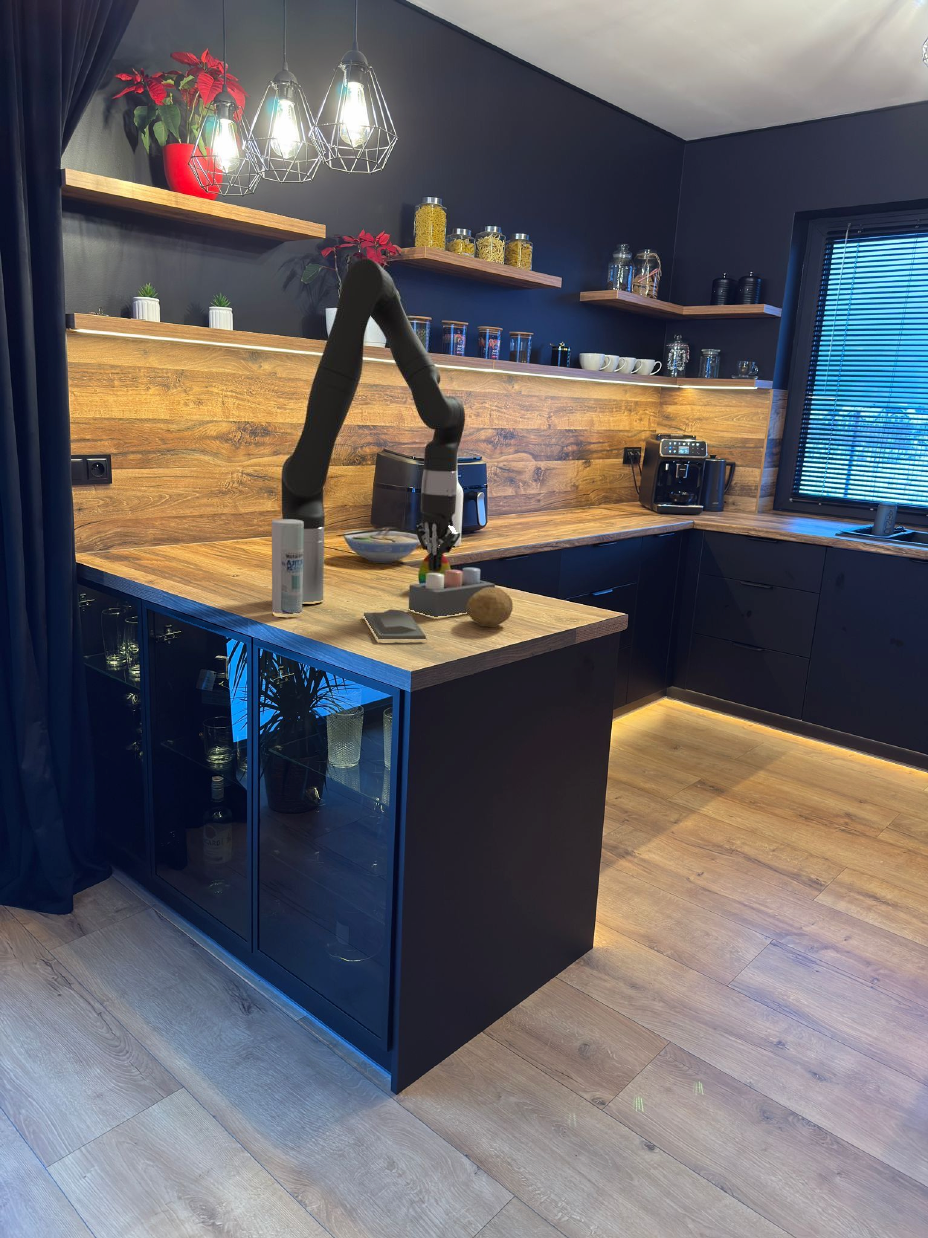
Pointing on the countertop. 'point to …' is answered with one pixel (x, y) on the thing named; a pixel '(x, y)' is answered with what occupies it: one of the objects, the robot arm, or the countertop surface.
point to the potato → (490, 606)
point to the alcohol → (458, 511)
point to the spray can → (287, 565)
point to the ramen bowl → (381, 544)
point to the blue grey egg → (471, 576)
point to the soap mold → (394, 625)
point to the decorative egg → (425, 570)
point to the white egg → (435, 581)
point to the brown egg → (453, 578)
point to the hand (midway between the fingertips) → (434, 570)
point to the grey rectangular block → (443, 598)
